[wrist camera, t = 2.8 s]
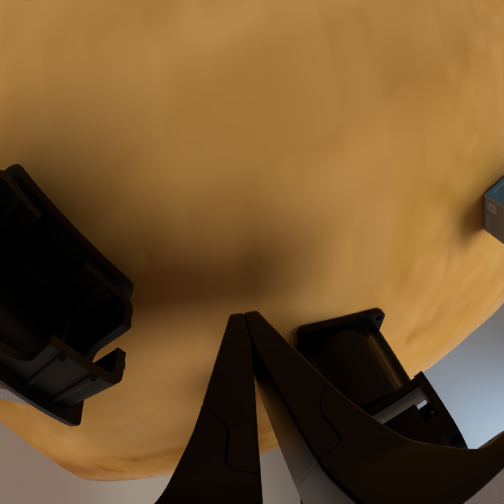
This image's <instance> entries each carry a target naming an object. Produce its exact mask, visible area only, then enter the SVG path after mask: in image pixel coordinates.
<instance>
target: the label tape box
mask: <svg viewBox="0 0 504 504" xmlns="http://www.w3.org/2000/svg"><path fill="white" fill-rule="evenodd" d="M484 225H485V231H487V232H488V233H490V234H491V235H492V236H494V237H495V238H496V239H498V240H499V241H500V242H502V243H503V244H504V177H503V178H502V179H501V180H500V181H499V182H498V183H497V184H496V185H495V186H494V187H492V188H491V189H490V190H489V191H488V192H487V193H485V194H484Z"/></svg>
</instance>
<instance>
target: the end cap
mask: <svg viewBox="0 0 504 504" xmlns="http://www.w3.org/2000/svg"><path fill="white" fill-rule="evenodd" d="M132 291H133V284H132V283H131V281H130V280H129V279H128V278H127V277H126V276H125V275H124V274H123V273H121V272H120V271H119V270H118V269H117V268H116V267H115V266H114V265H113V264H112V263H111V262H110V261H109V260H107V259H106V258H105V257H104V256H103V255H102V254H101V253H100V252H99V251H98V250H97V249H96V248H95V247H94V246H93V245H92V244H91V243H90V242H89V241H88V240H87V239H86V238H85V237H84V236H83V235H82V234H81V233H80V232H79V231H78V230H77V229H76V228H75V227H74V226H73V225H72V224H71V223H70V222H69V221H68V219H67V218H66V217H65V216H64V215H63V214H62V213H61V212H60V211H59V210H58V209H57V208H56V206H55V205H54V204H53V203H52V202H51V201H50V200H49V199H48V197H47V196H46V195H45V194H44V193H43V192H42V190H41V189H40V188H39V187H38V186H37V185H36V183H35V182H34V181H33V180H32V179H31V177H30V176H29V175H28V174H27V172H26V171H25V170H24V169H23V167H21V166H20V165H19V164H14V165H12V166H10V167H8V168H7V169H6V170H5V171H2V170H0V385H2V386H3V387H4V388H6V389H7V390H9V391H10V392H11V393H13V394H14V395H16V396H17V397H19V398H20V399H22V400H24V401H25V402H27V403H28V404H30V405H32V406H33V407H35V408H36V409H38V410H40V411H42V412H43V413H45V414H47V415H49V416H50V417H52V418H54V419H56V420H58V421H60V422H62V423H64V424H66V425H69V426H77V425H79V424H80V423H81V417H82V410H83V403H84V399H87V398H89V397H91V396H93V395H95V394H97V393H99V392H101V391H103V390H105V389H107V388H109V387H111V386H113V385H115V384H117V383H119V382H120V381H121V380H122V377H123V370H124V369H125V355H126V353H125V352H124V351H122V350H121V349H119V348H117V349H115V350H113V351H112V352H110V353H109V354H107V355H106V356H104V357H103V358H101V359H99V360H98V361H96V362H95V363H93V362H92V361H93V359H94V357H95V355H96V353H97V352H98V351H99V350H100V349H101V348H103V347H104V346H106V345H107V344H109V343H110V342H112V341H113V340H115V339H116V338H118V337H119V336H121V335H122V334H123V333H125V332H126V331H128V330H129V329H130V328H131V318H132V313H133V307H132V304H131V301H130V300H129V298H130V297H131V295H132Z"/></svg>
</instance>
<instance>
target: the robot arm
mask: <svg viewBox="0 0 504 504" xmlns="http://www.w3.org/2000/svg"><path fill="white" fill-rule="evenodd" d="M384 317H385V314H384V312H383V311H382V310H381V309H377V310H373V311H369V312H366V313H362V314H358V315H354V316H350V317H346V318H342V319H338V320H333V321H329V322H325V323H320V324H316V325H311V326H306V327H302V328H300V329H299V330H298V331H297V332H296V336H295V345H294V348H293V347H292V346H291V345H290V344H289V343H288V342H287V341H286V340H285V339H284V338H283V337H282V336H281V335H280V334H279V333H278V332H277V331H276V330H275V329H274V328H273V327H272V326H271V325H270V323H269V322H268V321H267V320H266V319H265V318H264V317H263V316H262V315H261V314H260V313H259V312H257V311H251V312H246V313H244V314H243V313H238V314H232V315H230V317H229V320H228V323H227V326H226V329H225V333H224V336H223V339H222V342H221V346H220V349H219V352H218V355H217V359H216V362H215V365H214V368H213V371H212V375H211V378H210V381H209V384H208V388H207V391H206V394H205V397H204V401H203V405H202V407H201V410H200V413H199V416H198V419H197V422H196V425H195V428H194V431H193V433H192V435H191V438H190V440H189V442H188V445H187V447H186V449H185V451H184V453H183V455H182V457H181V459H180V461H179V463H178V465H177V467H176V469H175V471H174V473H173V475H172V477H171V479H170V481H169V483H168V485H167V487H166V489H165V490H164V492H163V493H162V495H161V496H160V497H159V499H158V500H157V501H156V502H155V503H154V504H263V497H262V484H261V470H260V456H259V442H258V427H257V413H256V398H255V383H254V378H255V381H256V384H257V387H258V390H259V393H260V395H261V398H262V401H263V404H264V406H265V409H266V412H267V414H268V417H269V420H270V422H271V425H272V428H273V430H274V433H275V436H276V438H277V441H278V443H279V446H280V448H281V451H282V454H283V456H284V459H285V461H286V464H287V466H288V469H289V471H290V474H291V476H292V479H293V481H294V483H295V486H296V487H297V491H298V493H299V496H300V499H301V504H504V431H502V432H501V433H499V434H498V435H496V436H495V437H494V438H492V439H491V440H489V441H488V442H487V443H485V444H484V445H482V446H481V447H479V448H478V449H468V447H467V445H466V443H465V440H464V438H463V436H462V434H461V432H460V431H459V429H458V427H457V425H456V423H455V422H454V420H453V418H452V417H451V415H450V414H449V412H448V410H447V409H446V408H445V406H444V404H443V402H442V401H441V400H440V398H439V396H438V395H437V393H436V392H435V390H434V389H433V387H432V386H431V384H430V383H429V381H428V380H427V378H426V377H425V375H424V374H423V372H422V371H421V372H419V373H418V374H416V375H415V376H414V377H415V378H413V379H412V380H410V378H409V376H408V375H407V373H406V371H405V370H404V368H403V367H402V365H401V363H400V362H399V360H398V359H397V357H396V355H395V354H394V352H393V351H392V349H391V347H390V346H389V344H388V343H387V341H386V340H385V338H384V337H383V335H382V334H381V332H380V327H381V325H382V322H383V319H384ZM424 400H426V401H427V404H426V405H424V406H423V407H421V408H420V409H419V410H418V408H417V405H418V404H419V403H421V402H422V401H424Z"/></svg>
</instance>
